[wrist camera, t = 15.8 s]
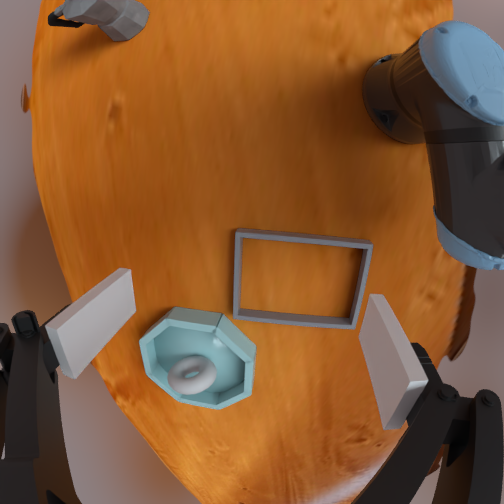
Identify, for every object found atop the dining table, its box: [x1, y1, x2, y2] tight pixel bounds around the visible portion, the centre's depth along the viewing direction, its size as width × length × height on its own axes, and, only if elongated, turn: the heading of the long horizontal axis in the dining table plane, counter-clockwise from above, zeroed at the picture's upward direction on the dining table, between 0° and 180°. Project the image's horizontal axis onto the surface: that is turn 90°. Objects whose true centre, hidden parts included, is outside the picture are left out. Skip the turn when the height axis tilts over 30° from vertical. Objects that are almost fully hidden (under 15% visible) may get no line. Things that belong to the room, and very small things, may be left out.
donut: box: [167, 356, 217, 395], centre depth 51 cm, size 10×3×10 cm, turn 101°
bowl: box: [139, 307, 257, 410], centre depth 54 cm, size 23×23×4 cm
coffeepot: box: [48, 0, 149, 41], centre depth 28 cm, size 15×9×18 cm, turn 100°
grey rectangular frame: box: [233, 228, 373, 329], centre depth 47 cm, size 22×16×2 cm
